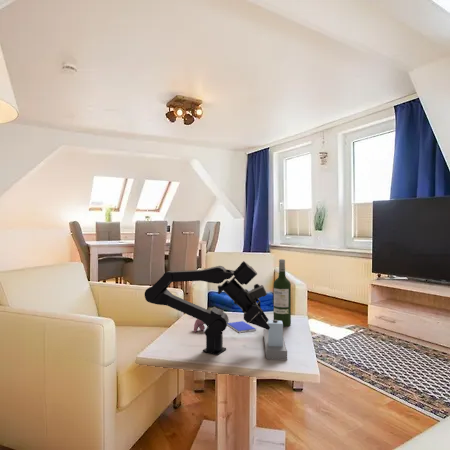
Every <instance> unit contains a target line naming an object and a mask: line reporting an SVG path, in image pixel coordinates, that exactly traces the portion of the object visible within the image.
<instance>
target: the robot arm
mask: <svg viewBox="0 0 450 450" xmlns="http://www.w3.org/2000/svg"><path fill="white" fill-rule="evenodd" d="M257 275H258V273H257V271H256V270H255V269H254V268H253V266H250V265H249V264H248V263H247V262H246V261H244V260H243V261H242V262H241V263H240V264H239V266H238V267H237V268H236V269H234V270H233V269H226V268H225V266H223V265H218V266H217V265H216V266H212V267H209V268H204V269H194V270H193V269H192V270H191V269H190V270H169V271H168V270H167V271H165V272H164V273H163V275H162V276H161V277H160V278H159V279H158V280H157V281H156V282H155V283H154V284H153V285H152V286H150V287H148V288H147V289H145V291H144V298H145V301H146V302H148V303H150V304H154V305H158V306H166V307H170V308H172V309H174V310H176V311H178V312H181V313H183V314H185V315H187V316H189V317H192V318H194V319H195V320H197V319H199V320H201V321H202V322H203V323H204V324H203V325H204V326H206V327H205V329H204V335H205V340H206V341H205V348H204V349H202V352H203V353H208V354H211V355H215V356H216V355H221V353H223V352H224V351H226V350H227V347H225V346H224V345H223V341H224V340H223V339H224V338H223V337H224V336H223V333H224V331H225V330H226V328H227V327H228V323H229V321H230V320H229V317H228V314H227V313H226V312H224V310H223V309H219V308H217V307H216V306H213V307H212V308H211V309H207V308H204V307H202V306H200V305H197V304H196V303H192V302H191V301H188V300H186V299H184V298H181V297H178V296H176V295H174V294H172V292H170V290H168V288H169V286H170V285H171V284H172V283H177V282H178V283H181V282H205V283H211V284H216V285H217V284H218V285H217V293H218V295H220V294H222V292H224V293H225V294H226V295H227V296H228V298H230V299H231V300H232V301H233V304H234V305H236V306H238V307H239V308H240V310H241V312H242V313H243V320H244V322H245V323H247V324H252V325H254V326H258V327H260V328H263V329H267V330H269V329H270V326H269V325H268V320H269V318H268V317H267V315H266V314H265V311H264V310H263V309H262V308H261V300H260V298H262V297H263V298H264V297H266V296H267V291H266V288H265V287H264V285H262V284H261V285H260V284H259V283H255V284H254V285H253V288H252V289H251V290H248V289H246V288H243V285H246V286H247V285H248V284H249V283H250V282H252V280H254V278H255V277H256V276H257ZM221 283H222V284H221ZM220 284H221V285H220ZM207 326H208V327H207ZM223 346H224V347H223Z"/></svg>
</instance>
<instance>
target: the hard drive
mask: <svg viewBox="0 0 450 450" xmlns="http://www.w3.org/2000/svg"><path fill="white" fill-rule="evenodd" d="M227 327H230V328H231V329H232V328H233V330H234V331H235V330H236V331H235V332H237V333H238V332H239V333H238V334H241V332H243V333H248V332H249V333H251V332H256V331H257V328H255V327H254V326H252V325H250V323H247V322H246V321H243V320H241V321H233V322H232V321H231V322H228V324H227Z"/></svg>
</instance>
